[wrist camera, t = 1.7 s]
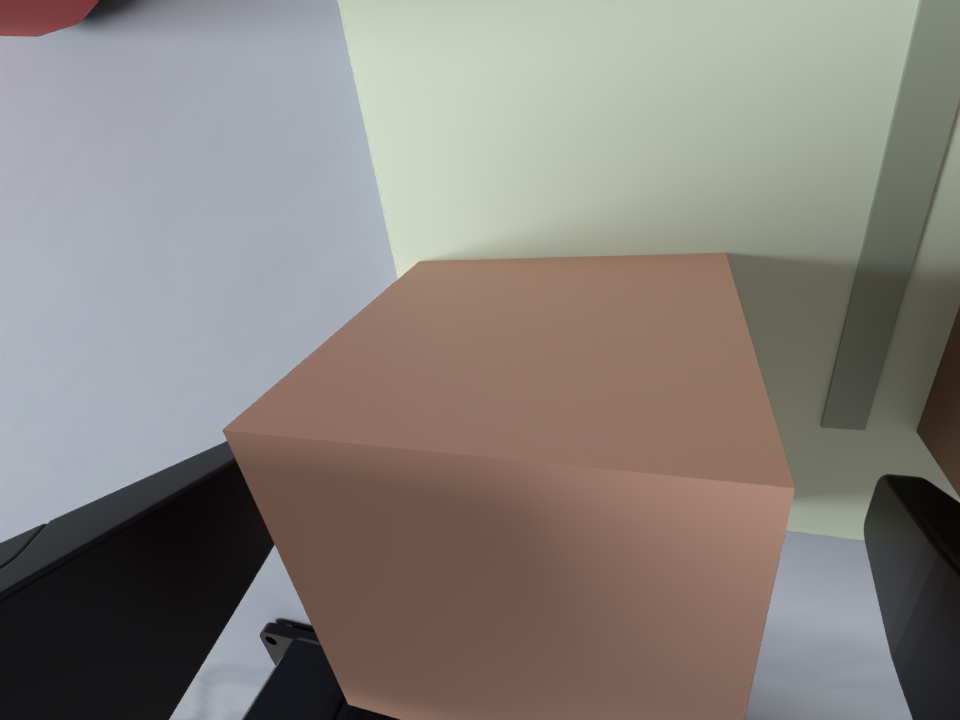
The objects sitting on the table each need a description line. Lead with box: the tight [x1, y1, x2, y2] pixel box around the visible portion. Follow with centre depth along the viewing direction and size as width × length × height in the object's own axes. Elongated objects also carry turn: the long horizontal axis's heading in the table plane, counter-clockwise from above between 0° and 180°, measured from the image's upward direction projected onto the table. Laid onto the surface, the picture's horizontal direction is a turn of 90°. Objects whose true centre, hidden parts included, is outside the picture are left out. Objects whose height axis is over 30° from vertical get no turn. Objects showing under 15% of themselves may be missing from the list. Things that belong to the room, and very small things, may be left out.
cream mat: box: [337, 0, 960, 541], centre depth 7 cm, size 13×16×1 cm
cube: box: [223, 253, 795, 720], centre depth 8 cm, size 5×5×5 cm
